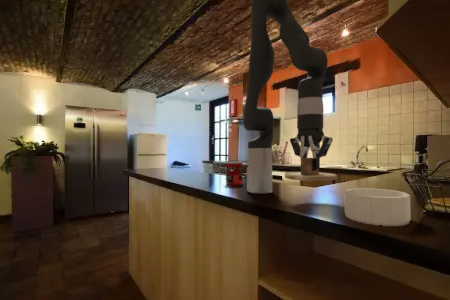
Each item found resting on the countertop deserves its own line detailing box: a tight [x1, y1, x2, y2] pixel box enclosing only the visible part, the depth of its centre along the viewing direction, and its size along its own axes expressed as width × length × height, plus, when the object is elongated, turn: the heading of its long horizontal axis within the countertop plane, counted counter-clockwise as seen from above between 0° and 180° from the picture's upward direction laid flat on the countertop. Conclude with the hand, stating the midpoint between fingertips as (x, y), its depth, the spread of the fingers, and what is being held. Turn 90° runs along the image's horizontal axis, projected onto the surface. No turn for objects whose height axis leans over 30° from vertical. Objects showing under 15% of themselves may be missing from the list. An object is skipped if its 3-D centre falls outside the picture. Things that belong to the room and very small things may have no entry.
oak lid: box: [284, 157, 338, 182], centre depth 76 cm, size 15×15×6 cm
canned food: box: [225, 161, 244, 186], centre depth 121 cm, size 8×8×11 cm
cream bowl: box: [343, 187, 412, 227], centre depth 59 cm, size 13×13×6 cm
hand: (310, 170), depth 76 cm, fingers closed on oak lid, 3 cm apart
